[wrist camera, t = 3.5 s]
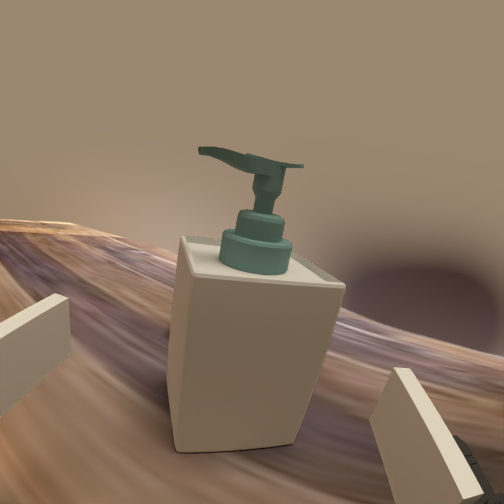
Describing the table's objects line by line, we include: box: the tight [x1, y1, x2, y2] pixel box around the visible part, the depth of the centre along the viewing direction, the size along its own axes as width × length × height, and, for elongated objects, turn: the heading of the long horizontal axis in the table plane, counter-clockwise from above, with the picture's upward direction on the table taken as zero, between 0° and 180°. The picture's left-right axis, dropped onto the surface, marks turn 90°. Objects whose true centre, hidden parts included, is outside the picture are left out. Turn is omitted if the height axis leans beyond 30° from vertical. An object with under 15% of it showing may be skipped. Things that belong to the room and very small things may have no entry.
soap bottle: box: [166, 147, 346, 452], centre depth 20 cm, size 9×9×19 cm
